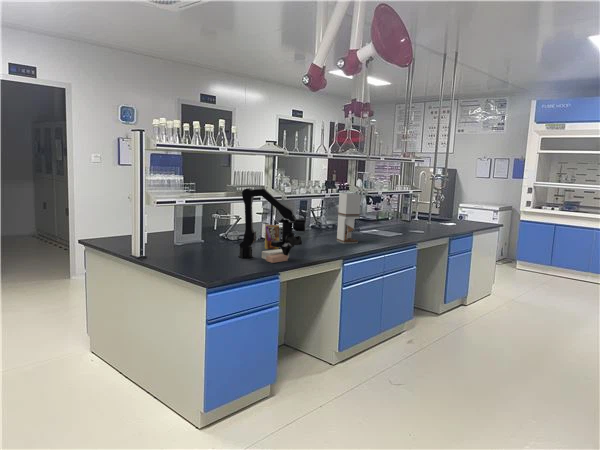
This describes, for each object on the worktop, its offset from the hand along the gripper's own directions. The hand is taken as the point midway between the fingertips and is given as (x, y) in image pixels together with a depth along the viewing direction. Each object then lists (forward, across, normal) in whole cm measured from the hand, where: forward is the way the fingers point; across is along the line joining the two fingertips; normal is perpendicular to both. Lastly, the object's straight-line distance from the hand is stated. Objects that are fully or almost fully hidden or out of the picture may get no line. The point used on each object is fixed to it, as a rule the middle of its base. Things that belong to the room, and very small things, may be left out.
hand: (286, 257), depth 253 cm
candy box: (+2, +14, +31) cm, 34 cm away
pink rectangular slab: (+1, -7, 0) cm, 7 cm away
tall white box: (+2, +77, +22) cm, 80 cm away
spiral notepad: (+1, -2, +7) cm, 7 cm away
